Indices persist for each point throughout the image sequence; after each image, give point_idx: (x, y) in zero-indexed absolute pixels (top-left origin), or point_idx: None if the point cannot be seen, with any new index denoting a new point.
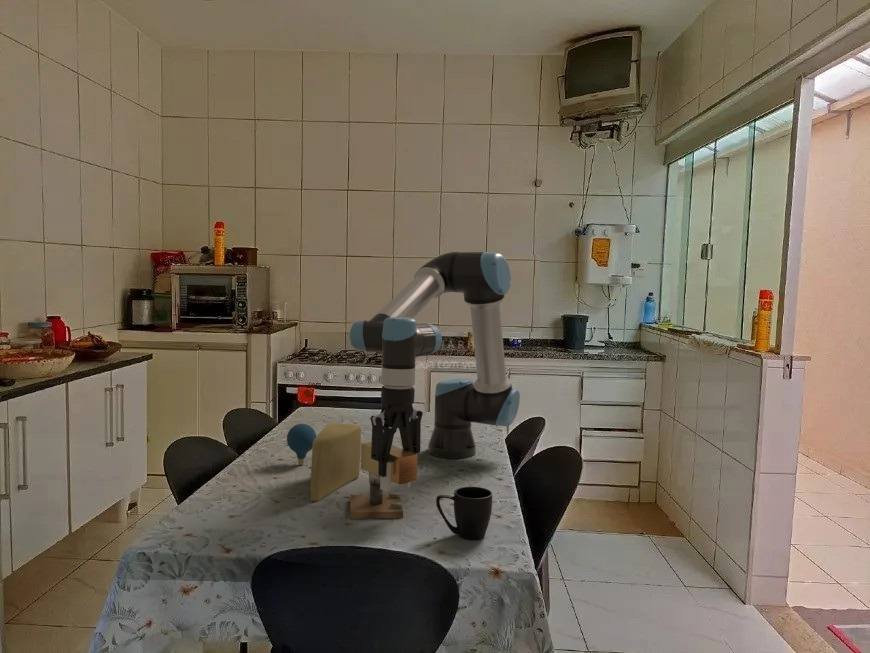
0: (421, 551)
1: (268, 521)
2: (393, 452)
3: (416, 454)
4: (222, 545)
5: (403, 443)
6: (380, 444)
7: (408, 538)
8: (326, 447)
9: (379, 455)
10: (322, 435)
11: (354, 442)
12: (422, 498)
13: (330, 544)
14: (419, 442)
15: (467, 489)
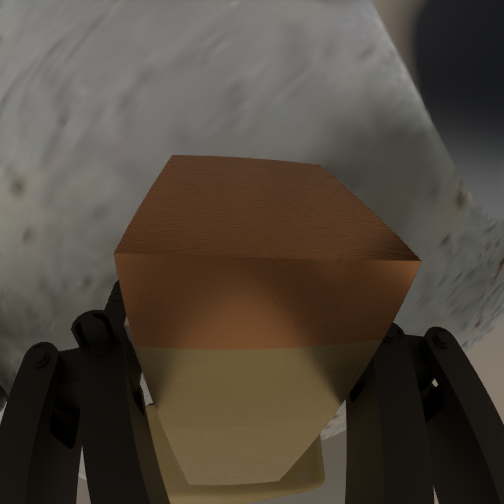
0: None
1: (416, 324)
2: (295, 401)
3: (128, 257)
4: (494, 278)
5: (154, 462)
6: (488, 423)
7: (312, 43)
8: (287, 472)
9: (454, 358)
10: (269, 498)
11: (162, 472)
12: (67, 266)
13: (452, 171)
14: (11, 415)
15: None
